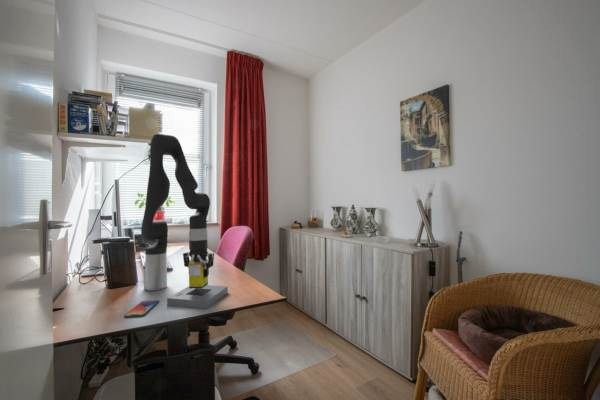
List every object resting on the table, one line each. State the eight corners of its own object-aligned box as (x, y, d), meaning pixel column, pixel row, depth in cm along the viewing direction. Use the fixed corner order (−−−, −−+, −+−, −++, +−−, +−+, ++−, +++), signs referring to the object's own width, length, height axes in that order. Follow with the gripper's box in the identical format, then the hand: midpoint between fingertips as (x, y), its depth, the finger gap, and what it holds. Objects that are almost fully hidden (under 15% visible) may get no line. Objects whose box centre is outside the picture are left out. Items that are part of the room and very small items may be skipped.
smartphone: (160, 302, 115) (160, 300, 115) (143, 317, 100) (143, 314, 100) (142, 303, 114) (142, 301, 114) (122, 318, 99) (122, 315, 99)
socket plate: (167, 305, 110) (167, 297, 110) (192, 290, 128) (192, 283, 128) (206, 308, 106) (206, 301, 106) (227, 292, 124) (227, 286, 124)
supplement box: (208, 284, 119) (208, 259, 119) (202, 288, 114) (201, 263, 113) (195, 283, 120) (195, 259, 120) (188, 288, 114) (188, 262, 114)
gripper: (178, 239, 114) (178, 278, 115) (208, 240, 112) (209, 280, 112) (188, 236, 122) (189, 273, 122) (217, 237, 119) (218, 275, 119)
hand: (198, 276), depth 117 cm, fingers closed on supplement box, 6 cm apart
